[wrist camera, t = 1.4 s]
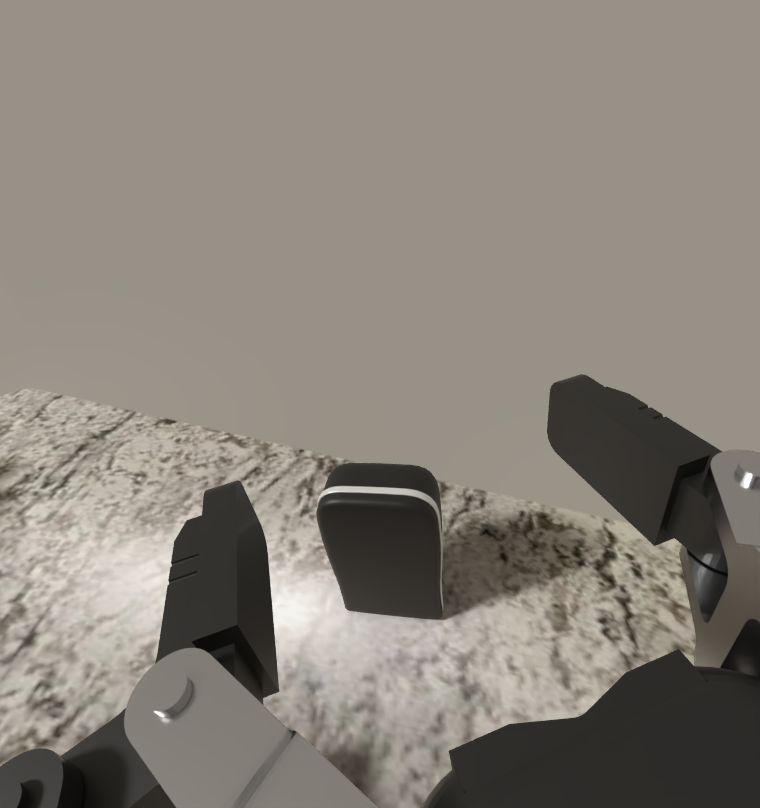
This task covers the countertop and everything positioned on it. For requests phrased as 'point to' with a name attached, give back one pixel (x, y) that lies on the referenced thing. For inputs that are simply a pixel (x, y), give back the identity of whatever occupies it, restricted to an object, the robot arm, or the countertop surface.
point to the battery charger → (384, 538)
